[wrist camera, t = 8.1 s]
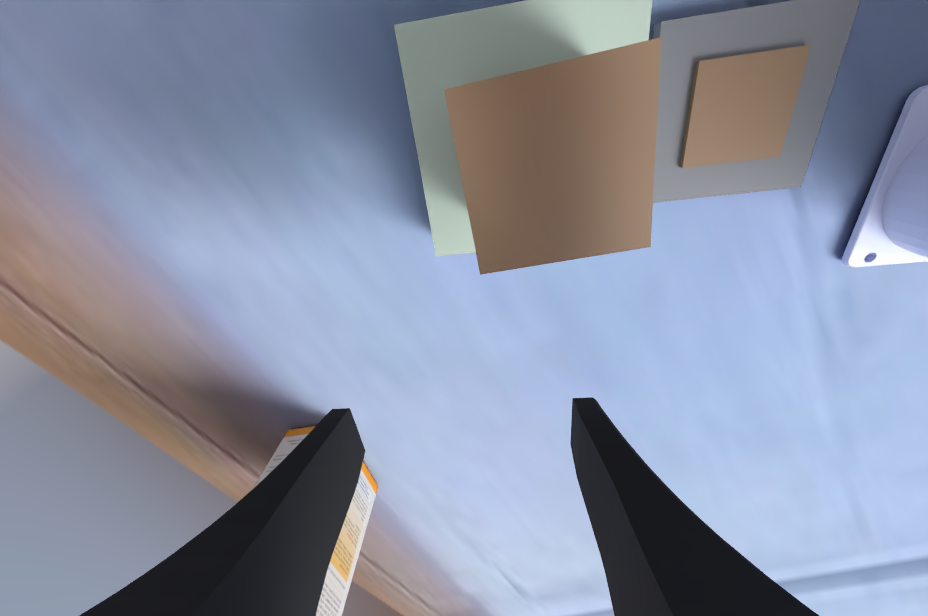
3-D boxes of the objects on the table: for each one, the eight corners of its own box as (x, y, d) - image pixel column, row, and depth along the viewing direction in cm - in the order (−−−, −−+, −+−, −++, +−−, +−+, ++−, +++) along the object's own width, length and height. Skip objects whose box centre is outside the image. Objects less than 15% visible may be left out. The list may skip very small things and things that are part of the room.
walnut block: (592, 61, 13) (661, 37, 8) (595, 197, 16) (650, 246, 10) (459, 92, 14) (443, 89, 9) (482, 218, 16) (480, 274, 11)
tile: (845, -6, 14) (871, -14, 13) (788, 183, 17) (806, 188, 16) (653, 25, 15) (664, 19, 14) (635, 200, 18) (643, 205, 17)
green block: (625, -1, 15) (654, -24, 12) (610, 217, 19) (630, 236, 16) (409, 37, 16) (393, 24, 13) (442, 236, 20) (435, 256, 17)
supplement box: (285, 427, 28) (145, 651, 16) (342, 419, 27) (235, 649, 16) (329, 493, 32) (240, 711, 20) (380, 487, 31) (317, 711, 20)
